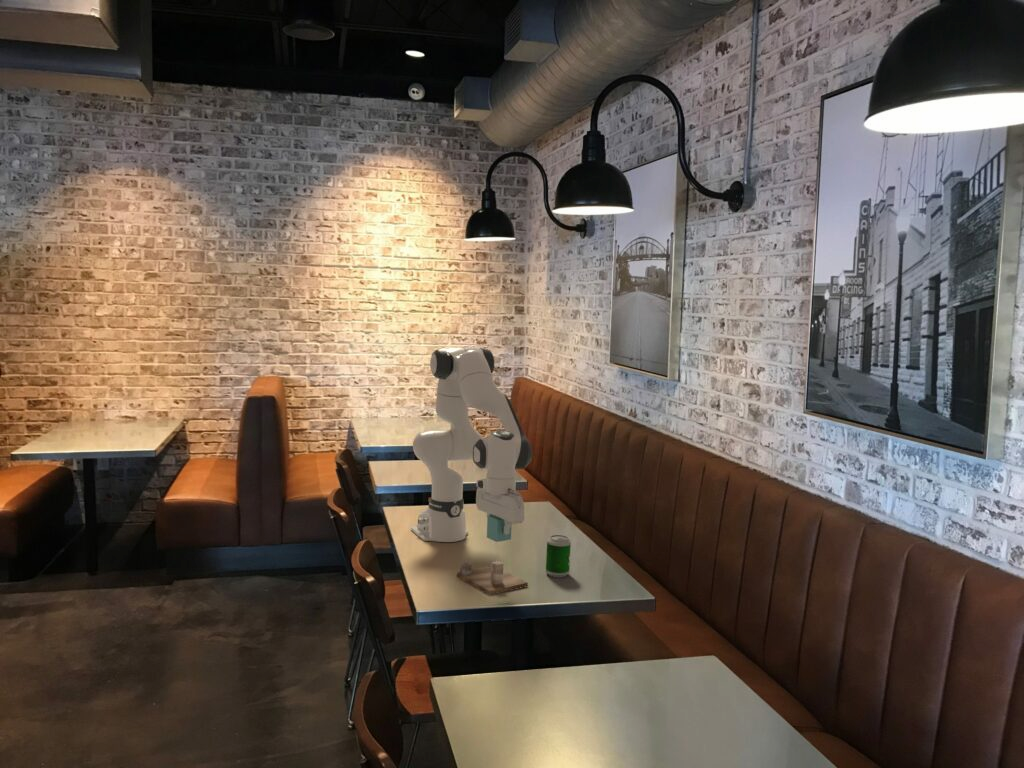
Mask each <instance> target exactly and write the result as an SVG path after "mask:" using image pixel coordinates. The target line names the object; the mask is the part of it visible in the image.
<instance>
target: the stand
mask: <svg viewBox="0 0 1024 768" xmlns="http://www.w3.org/2000/svg"><path fill="white" fill-rule="evenodd" d="M472 565H473V564H471V563H469V562H462V563H459V572H456V576H457V578H458V577H459V578H458V579H460V578H461V579H460V580H462V579H463V580H462V581H464V580H465V581H466V582H465V581H464V582H465V583H467V582H468V583H467V584H469V583H470V584H469V585H471V584H472V585H471V586H473V587H474V586H475V587H474V588H476V587H477V588H476V589H478V588H479V589H478V590H480V591H482V590H483V591H484V592H483V591H482V592H483V593H485V592H486V593H485V594H487V593H488V594H487V595H489V594H492V595H494V594H493V593H496V594H499V593H498V592H501V593H503V592H502V591H505V592H509V591H508V590H510V591H512V590H511V589H514V590H517V589H516V588H519V589H521V588H520V587H523V588H526V587H525V586H528V585H529V582H527V581H525V580H524V579H521V578H519V577H517V576H515V575H513V574H511V573H509V572H507V571H505V570H504V563H503V562H502V561H500V560H497V561H491V564H490V566H484V567H479V568H473V569H472Z"/></svg>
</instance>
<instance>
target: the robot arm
mask: <svg viewBox="0 0 1024 768" xmlns="http://www.w3.org/2000/svg"><path fill="white" fill-rule="evenodd" d="M429 367H430V371H431V374H432V375H433V377H434V378H436V379H438V381H437V389H436V399H435V400H436V401H435V411H436V412H435V413H436V415H437V416H438V417H439V418H440V420H443V421H444V422H447V423H448V424H450V429H432V430H425V431H421V432H418V433H417V434H416V436H414V439H413V442H412V450H413V453H414V455H415V457H416V458H417V459H418V460H420V461H421V462H422V463H423V464H424V466H426V467H427V470H428V471H429V474H430V478H431V497H428V500H427V501H428V502H429V503H428V507H427V508H426V509H424V510H423V511H421V512H420V513H419V514H418V516H417V524H415V525H413V526H411V527H410V531H412V532H413V533H414V534H415V535H416V536H417V537H418V538H419V539H421V540H422V541H426V542H428V541H429V542H438V543H452V542H455V543H456V542H458V541H459V542H460V541H463V540H464V539H466V536H467V535H468V534H469V530H468V529H467V525H466V524H467V523H466V521H467V520H466V513H465V512H466V511H464V510H463V509H464V505H465V503H464V498H463V496H464V495H463V493H464V491H463V489H464V479H463V476H462V475H461V473H459V472H458V471H457V470H454V469H452V468H450V467H449V465H448V464H449V463H448V462H450V461H452V462H453V461H469V460H472V461H473V463H474V465H475V466H477V467H478V468H479V469H483V470H487V471H486V476H485V478H482V479H477V480H476V483H475V484H476V487H477V489H476V495H475V504H476V505H475V506H476V508H477V510H479V511H481V512H484V513H486V517H487V518H488V516H491V515H493V516H496V517H498V518H501V519H503V520H504V523H505V526H504V528H502V533H503V534H505V535H506V534H509V531H510V527H511V528H512V526H511V525H513V524H514V525H515V524H521V523H523V522H524V520H525V503H524V500H523V496H522V495H521V494H520V491H518V490H516V488H517V487H516V485H517V484H516V483H517V482H516V481H517V480H516V479H517V474H516V470H524V469H525V468H527V466H528V465H529V464H530V463H531V462H532V460H533V453H534V452H533V448H532V445H531V443H530V440H529V439H528V438H527V436H526V435H525V433H524V431H523V428H522V426H521V423H520V421H519V419H518V417H517V414H516V412H515V409H514V407H513V404H512V402H511V400H510V399H509V397H508V395H506V394H505V393H503V392H502V391H501V390H500V389H499V388H498V387H497V385H496V383H495V382H494V378H493V373H494V370H495V357H494V354H493V352H492V351H491V350H489V349H487V348H483V347H480V348H476V347H469V346H467V347H466V346H461V347H450V348H449V347H448V348H445V347H443V348H438V349H435V350H433V352H432V353H431V356H430V361H429ZM469 407H471V408H473V409H476V410H479V411H482V412H486V413H488V414H491V415H493V416H495V417H496V418H498V419H499V420H500V422H501V424H502V426H503V429H504V430H503V429H497V430H493V431H491V432H490V433H489V435H488V436H486V437H483V435H482V434H481V433H480V432H479V431H478V430H476V429H475V428H474V426H473V425H472V423H471V421H470V418H469V412H468V411H469V410H468V408H469Z"/></svg>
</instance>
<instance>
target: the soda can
mask: <svg viewBox="0 0 1024 768" xmlns="http://www.w3.org/2000/svg"><path fill="white" fill-rule="evenodd" d="M571 543H572V541H571V539H570V538H569V537H568V536H566V535H563V534H553V535H550V536H549V538H547V542H546V557H545V558H546V559H545V560H546V561H545V572H546V573H547V575H548V574H549V575H548V576H550V577H552V576H553V577H552V578H565V577H566V576H567V575H568V574H569V573H570V566H571V548H572V547H571V545H572V544H571Z"/></svg>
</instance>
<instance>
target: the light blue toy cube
mask: <svg viewBox="0 0 1024 768" xmlns="http://www.w3.org/2000/svg"><path fill="white" fill-rule="evenodd" d="M486 521H487V525H486V538H487V539H490V540H492V541H494V542H496V543H498V542H504V541H509V540H512V525H513V524H512V525H511V527H510V531H509V534H506V535H505V534H503V533H502V528H504V526H505V523H504V520H503V519H501V518H498V517H496V516H493V515H491V516H488V518H487V520H486Z"/></svg>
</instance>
